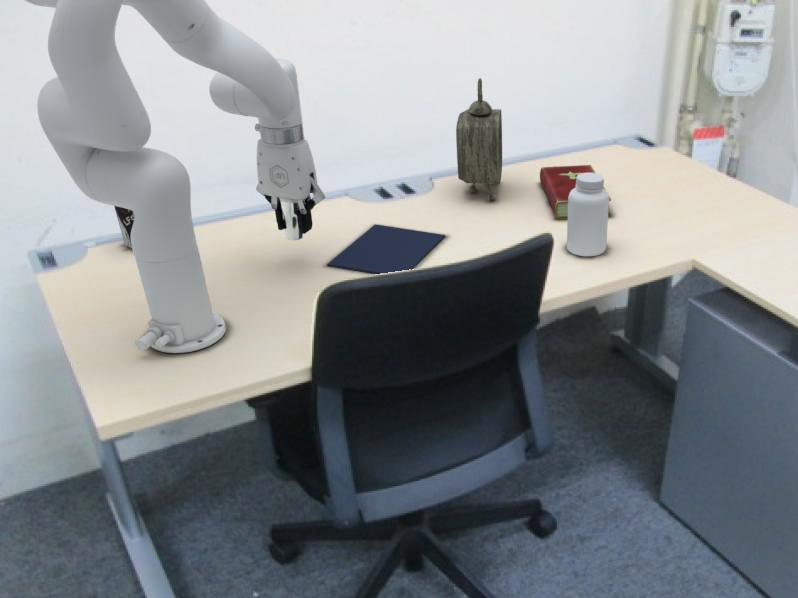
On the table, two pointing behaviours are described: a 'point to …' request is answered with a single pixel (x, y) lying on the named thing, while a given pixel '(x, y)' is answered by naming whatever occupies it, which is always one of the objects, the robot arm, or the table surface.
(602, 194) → the pill bottle
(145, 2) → the robot arm
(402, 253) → the mouse pad
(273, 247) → the table surface
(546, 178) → the hardcover book
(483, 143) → the tabletop clock
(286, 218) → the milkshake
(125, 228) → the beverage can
